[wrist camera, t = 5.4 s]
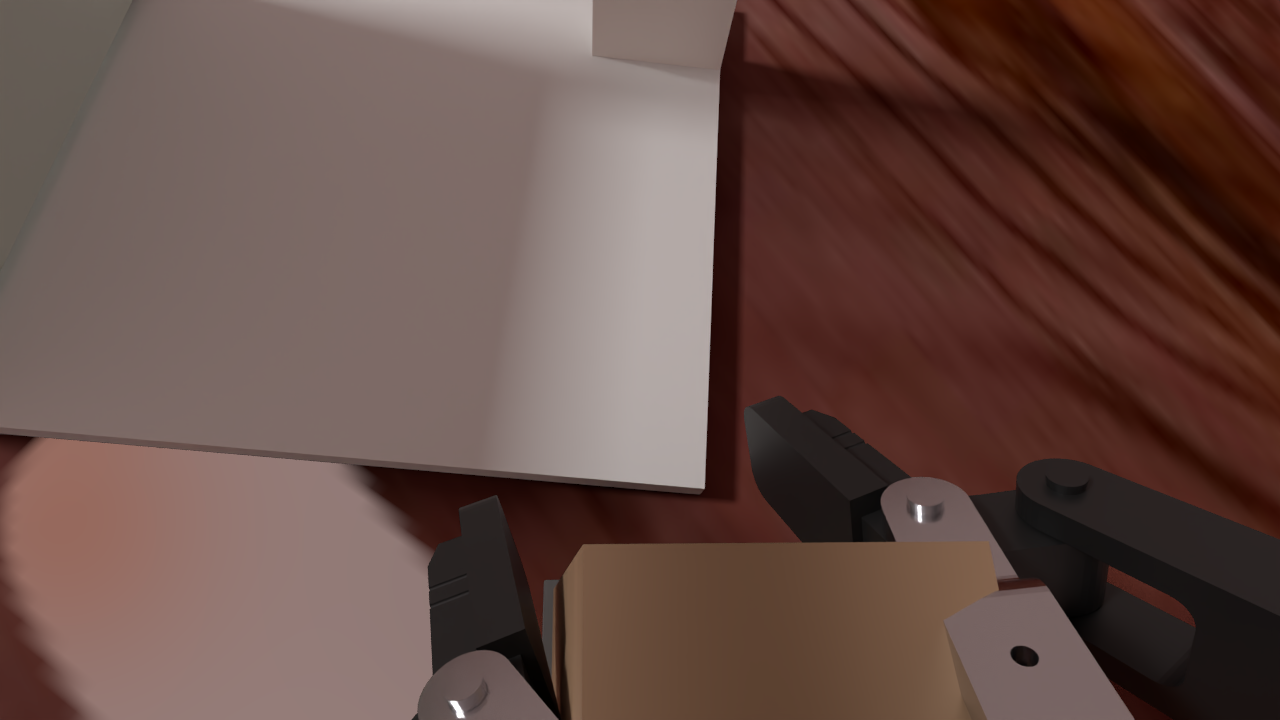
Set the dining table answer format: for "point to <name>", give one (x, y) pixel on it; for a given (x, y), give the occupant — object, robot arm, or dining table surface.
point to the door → (44, 90)
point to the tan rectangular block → (761, 630)
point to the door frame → (383, 239)
